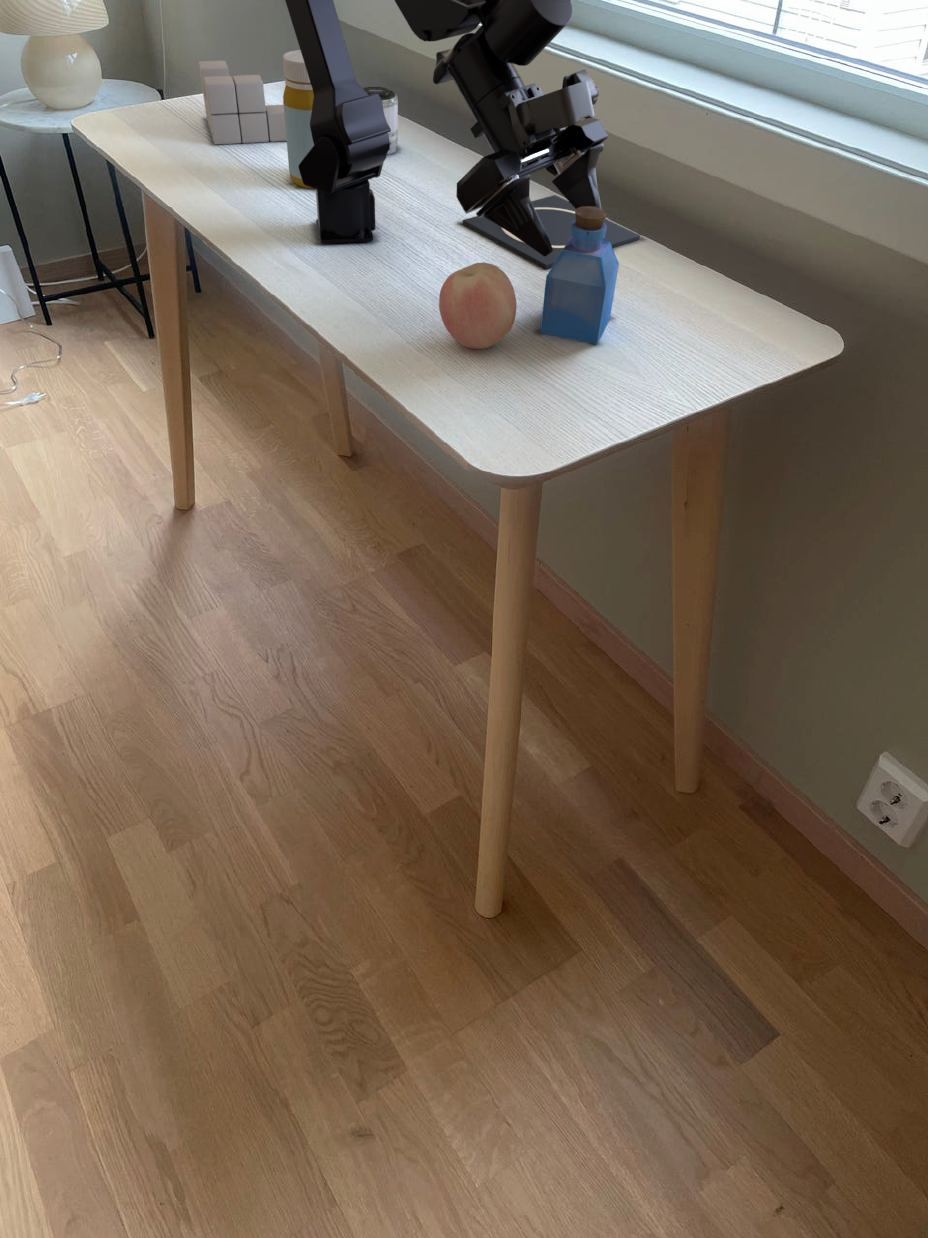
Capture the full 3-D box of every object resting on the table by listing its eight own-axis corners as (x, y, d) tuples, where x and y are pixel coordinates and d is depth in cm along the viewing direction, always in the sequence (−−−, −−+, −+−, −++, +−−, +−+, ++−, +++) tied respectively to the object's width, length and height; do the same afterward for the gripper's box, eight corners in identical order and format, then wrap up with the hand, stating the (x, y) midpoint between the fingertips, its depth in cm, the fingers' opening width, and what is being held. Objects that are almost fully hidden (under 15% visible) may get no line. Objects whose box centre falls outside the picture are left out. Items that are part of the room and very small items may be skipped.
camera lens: (400, 156, 135) (400, 96, 129) (357, 156, 134) (355, 96, 128) (395, 141, 139) (395, 83, 134) (353, 142, 138) (351, 83, 133)
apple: (475, 318, 100) (479, 244, 94) (528, 344, 96) (536, 269, 91) (423, 341, 96) (424, 266, 90) (476, 369, 92) (481, 292, 86)
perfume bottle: (609, 318, 101) (628, 206, 93) (596, 344, 97) (614, 229, 88) (555, 308, 102) (568, 196, 94) (540, 332, 98) (552, 218, 90)
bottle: (280, 184, 125) (268, 58, 115) (306, 168, 130) (296, 45, 119) (326, 193, 123) (318, 66, 113) (350, 176, 128) (345, 53, 118)
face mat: (545, 268, 109) (546, 263, 109) (462, 223, 118) (462, 218, 118) (639, 239, 117) (640, 234, 116) (554, 198, 126) (555, 193, 125)
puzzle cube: (296, 140, 138) (291, 80, 132) (214, 144, 135) (206, 84, 130) (284, 115, 146) (279, 58, 140) (206, 118, 143) (198, 60, 138)
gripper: (486, 59, 79) (576, 225, 82) (605, 25, 90) (681, 173, 93) (417, 136, 88) (501, 283, 91) (533, 97, 99) (604, 230, 102)
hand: (575, 240), depth 94 cm, fingers open, 9 cm apart
